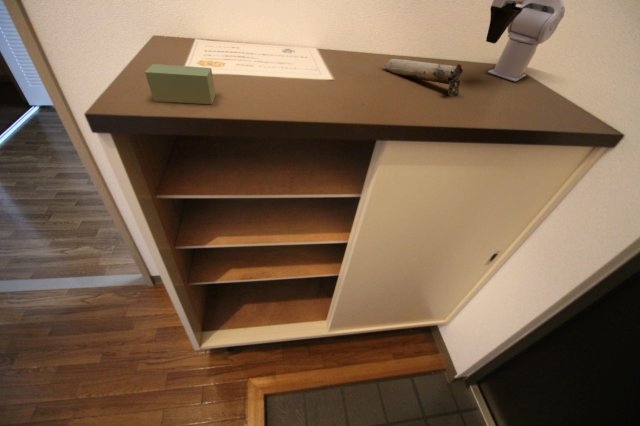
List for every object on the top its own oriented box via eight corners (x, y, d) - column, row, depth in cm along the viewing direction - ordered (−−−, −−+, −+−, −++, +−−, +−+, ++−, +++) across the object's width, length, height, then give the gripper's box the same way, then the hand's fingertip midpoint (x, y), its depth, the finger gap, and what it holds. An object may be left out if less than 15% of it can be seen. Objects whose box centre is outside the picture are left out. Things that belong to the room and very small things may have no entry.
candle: (446, 99, 65) (458, 69, 60) (383, 69, 75) (389, 42, 70) (460, 94, 68) (473, 65, 63) (398, 66, 78) (405, 40, 73)
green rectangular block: (160, 92, 53) (152, 63, 50) (215, 95, 55) (211, 67, 51) (153, 101, 51) (144, 71, 47) (211, 104, 52) (206, 76, 48)
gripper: (517, -35, 64) (486, 34, 74) (492, -37, 56) (462, 41, 66) (550, -30, 61) (514, 42, 70) (529, -31, 53) (491, 49, 63)
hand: (490, 42), depth 68 cm, fingers closed
